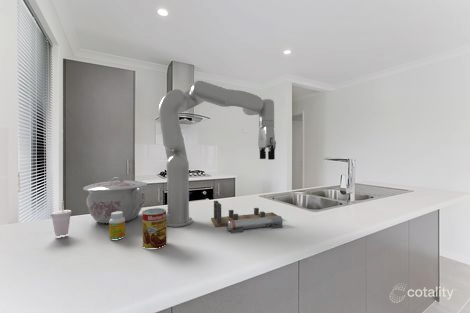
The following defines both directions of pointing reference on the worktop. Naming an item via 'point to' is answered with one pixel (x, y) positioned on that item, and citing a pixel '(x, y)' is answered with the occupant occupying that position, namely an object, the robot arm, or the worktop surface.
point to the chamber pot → (115, 199)
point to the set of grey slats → (242, 229)
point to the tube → (254, 223)
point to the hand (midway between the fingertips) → (266, 159)
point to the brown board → (235, 215)
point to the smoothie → (61, 221)
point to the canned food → (154, 228)
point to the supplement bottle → (116, 225)
